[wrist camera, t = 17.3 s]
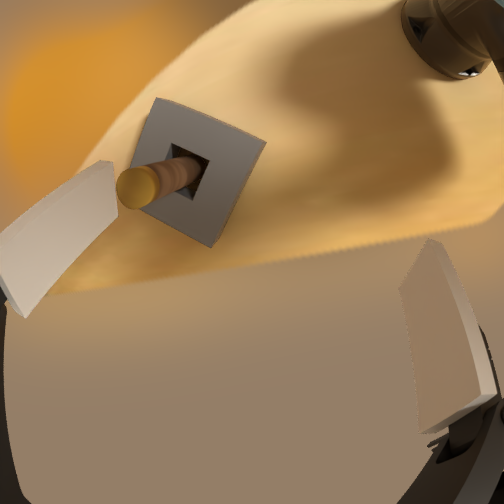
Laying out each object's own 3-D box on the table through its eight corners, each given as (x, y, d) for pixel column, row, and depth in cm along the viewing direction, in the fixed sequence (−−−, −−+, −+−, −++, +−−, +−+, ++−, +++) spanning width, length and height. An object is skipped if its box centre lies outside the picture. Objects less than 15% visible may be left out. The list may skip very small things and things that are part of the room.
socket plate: (266, 142, 36) (262, 142, 32) (218, 238, 42) (210, 248, 39) (169, 99, 35) (155, 97, 31) (134, 193, 42) (120, 198, 38)
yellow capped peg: (210, 161, 38) (155, 178, 24) (199, 186, 40) (142, 216, 25) (186, 150, 38) (122, 162, 23) (177, 174, 40) (112, 198, 25)
